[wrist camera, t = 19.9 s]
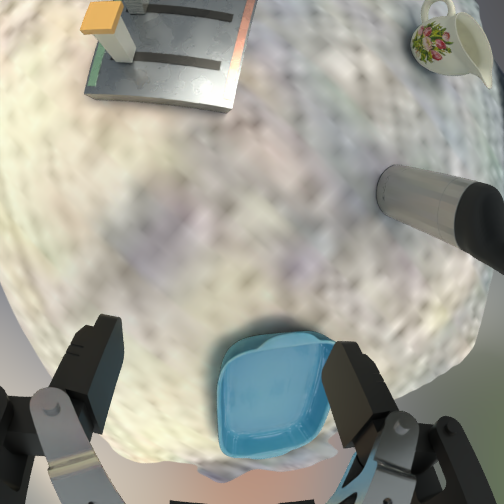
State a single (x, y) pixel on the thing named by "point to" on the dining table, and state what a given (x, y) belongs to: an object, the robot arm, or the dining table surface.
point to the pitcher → (452, 44)
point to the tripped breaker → (109, 29)
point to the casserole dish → (272, 394)
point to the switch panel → (177, 54)
